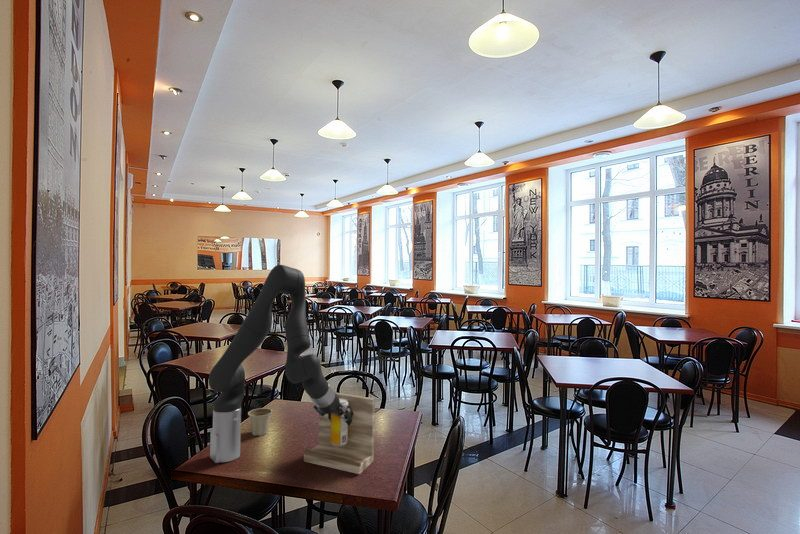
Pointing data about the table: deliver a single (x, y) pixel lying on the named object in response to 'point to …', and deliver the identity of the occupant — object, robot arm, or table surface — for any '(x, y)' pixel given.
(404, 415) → the table surface
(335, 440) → the beer can
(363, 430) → the wall board
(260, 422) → the flower pot
